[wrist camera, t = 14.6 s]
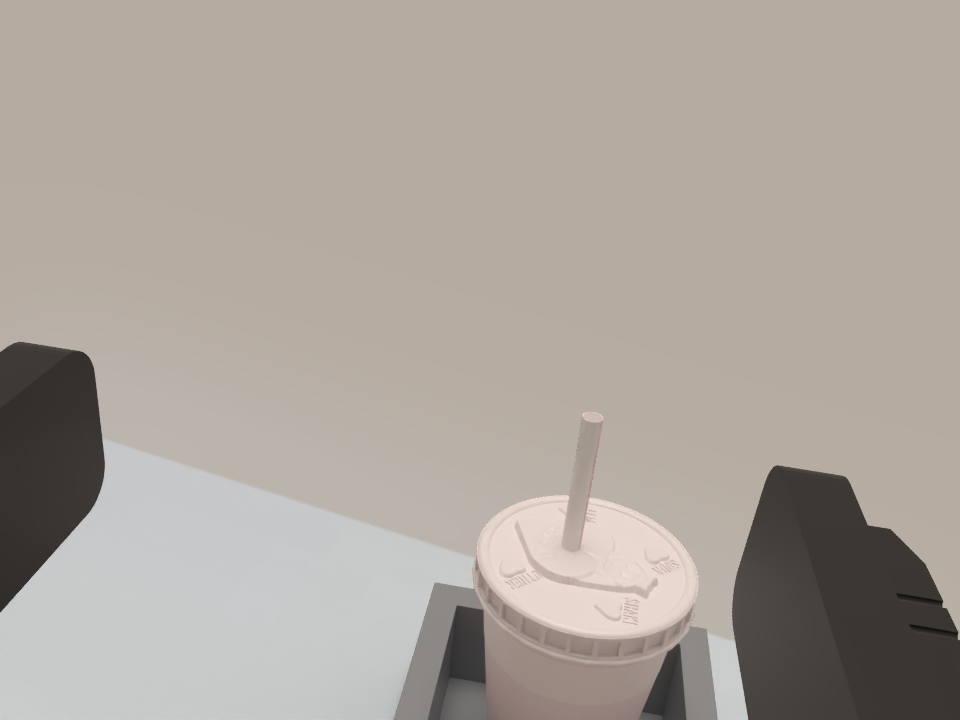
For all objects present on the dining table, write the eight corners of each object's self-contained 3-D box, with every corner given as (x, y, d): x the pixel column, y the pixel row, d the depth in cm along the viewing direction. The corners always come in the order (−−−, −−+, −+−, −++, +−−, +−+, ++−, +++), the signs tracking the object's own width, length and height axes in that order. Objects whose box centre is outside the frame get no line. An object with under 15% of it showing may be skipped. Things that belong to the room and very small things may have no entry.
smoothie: (514, 686, 33) (564, 350, 27) (672, 777, 30) (768, 421, 24) (408, 806, 28) (440, 427, 22) (585, 930, 25) (679, 529, 19)
